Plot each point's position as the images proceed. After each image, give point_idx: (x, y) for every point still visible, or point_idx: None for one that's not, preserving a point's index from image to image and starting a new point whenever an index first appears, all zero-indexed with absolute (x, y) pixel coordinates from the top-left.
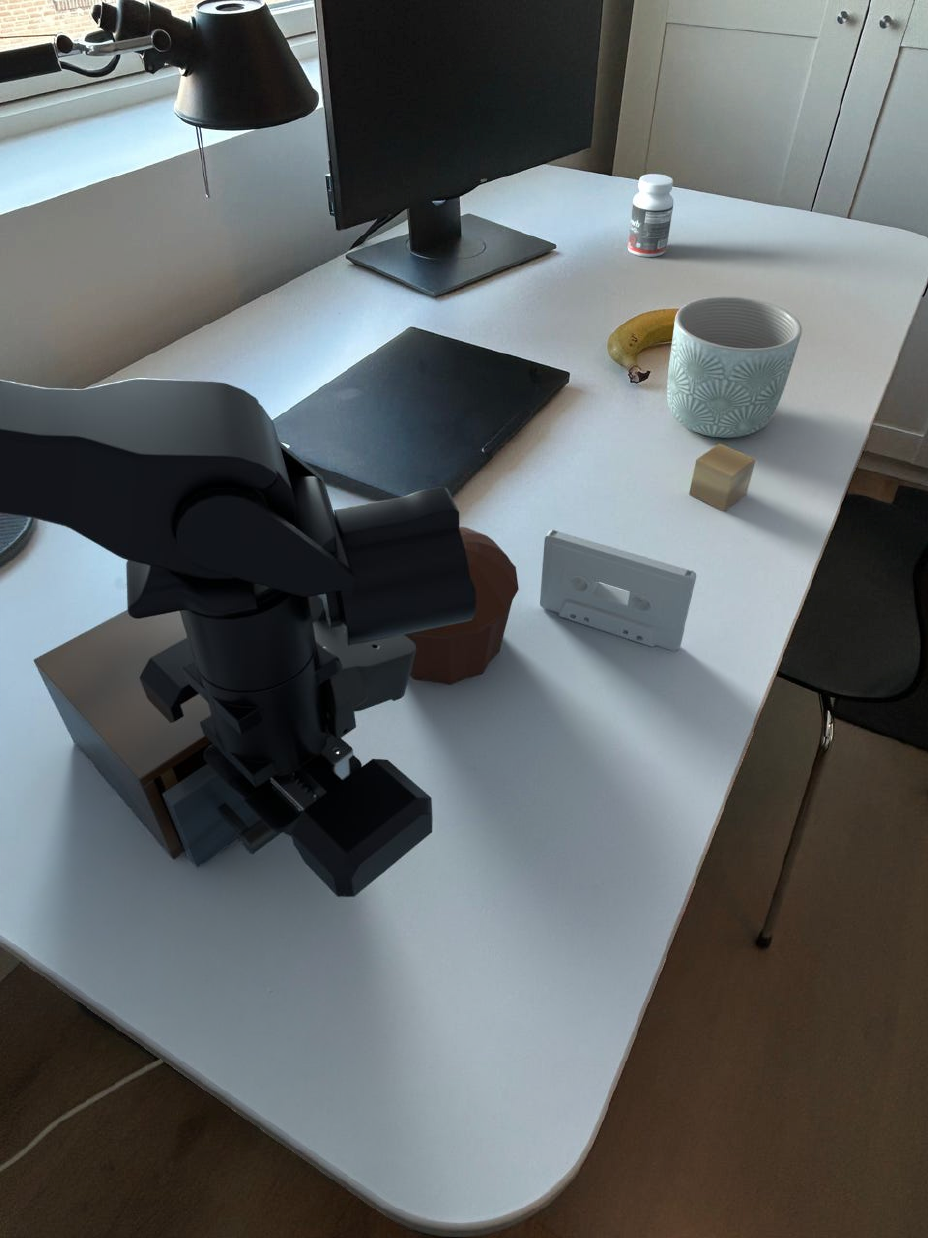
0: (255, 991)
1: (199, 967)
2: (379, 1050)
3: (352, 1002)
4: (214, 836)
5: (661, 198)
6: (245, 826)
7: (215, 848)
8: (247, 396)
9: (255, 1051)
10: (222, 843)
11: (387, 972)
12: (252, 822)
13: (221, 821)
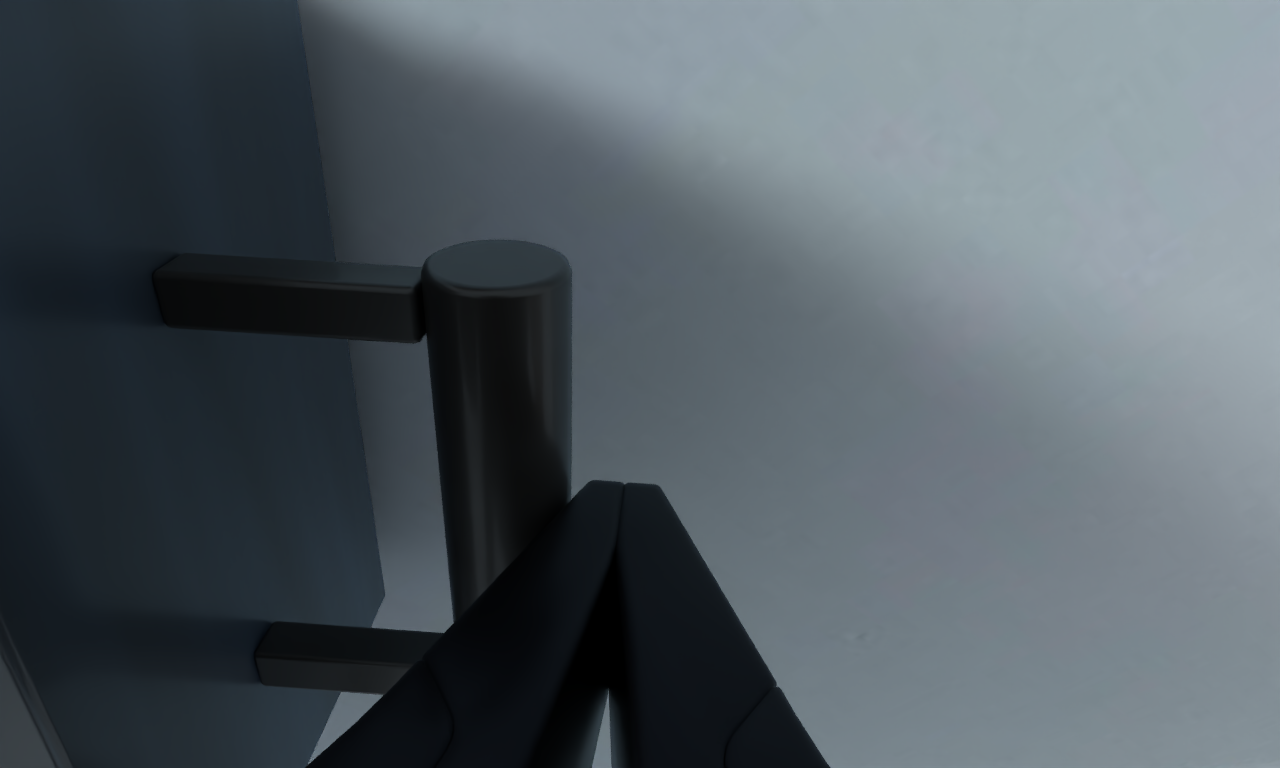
0: (824, 656)
1: None
2: (1255, 574)
3: (1098, 536)
4: (337, 596)
5: None
6: None
7: (365, 560)
8: None
9: (937, 728)
10: (361, 535)
11: (1154, 417)
12: (345, 417)
13: (307, 606)
